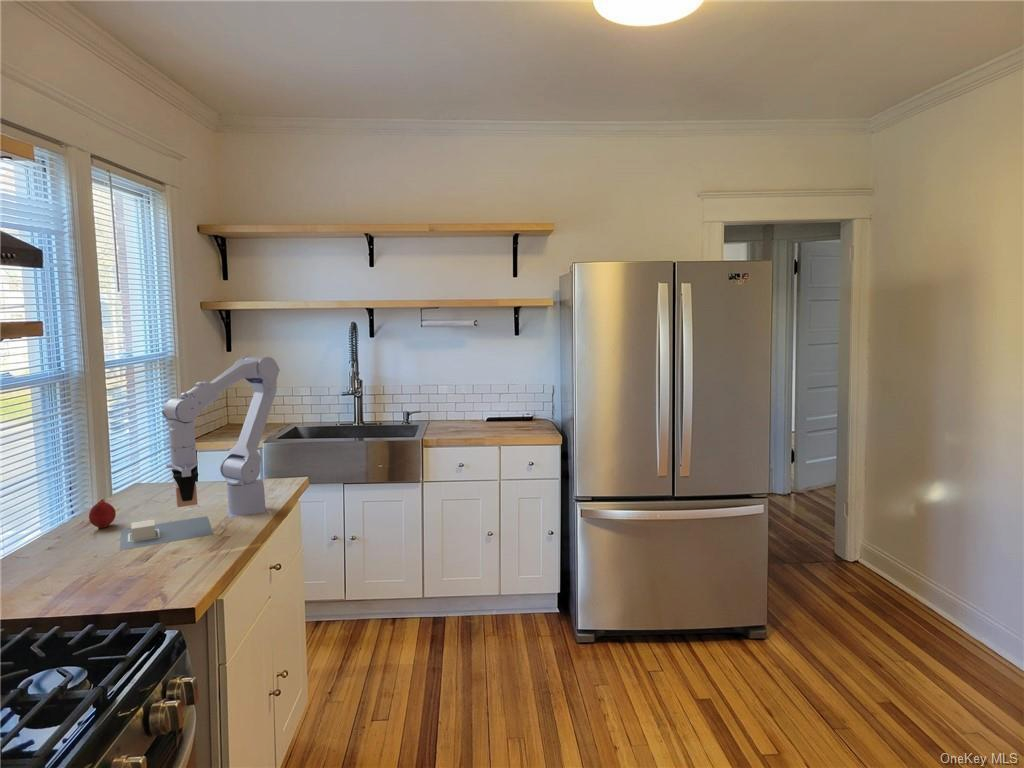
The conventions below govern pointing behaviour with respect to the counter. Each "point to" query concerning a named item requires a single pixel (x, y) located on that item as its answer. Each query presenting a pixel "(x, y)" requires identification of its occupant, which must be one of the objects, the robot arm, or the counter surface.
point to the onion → (102, 514)
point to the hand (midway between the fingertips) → (186, 497)
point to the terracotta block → (185, 503)
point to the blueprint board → (163, 532)
